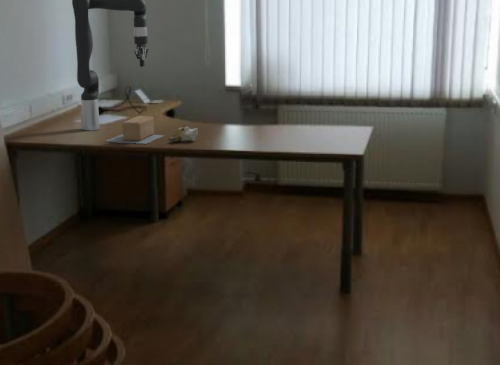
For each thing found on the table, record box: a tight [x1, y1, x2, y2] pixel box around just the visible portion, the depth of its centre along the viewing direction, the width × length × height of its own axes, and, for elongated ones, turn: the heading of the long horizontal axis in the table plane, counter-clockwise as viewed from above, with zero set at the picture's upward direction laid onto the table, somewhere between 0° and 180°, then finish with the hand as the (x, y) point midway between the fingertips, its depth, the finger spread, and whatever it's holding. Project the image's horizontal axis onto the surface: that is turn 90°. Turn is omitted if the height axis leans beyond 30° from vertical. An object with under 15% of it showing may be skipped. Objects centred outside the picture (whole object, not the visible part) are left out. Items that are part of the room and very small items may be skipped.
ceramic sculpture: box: [168, 124, 199, 142], centre depth 410 cm, size 11×9×15 cm
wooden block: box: [121, 115, 155, 141], centre depth 419 cm, size 10×10×20 cm
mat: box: [104, 133, 165, 145], centre depth 418 cm, size 24×22×1 cm
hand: (142, 66), depth 440 cm, fingers closed
